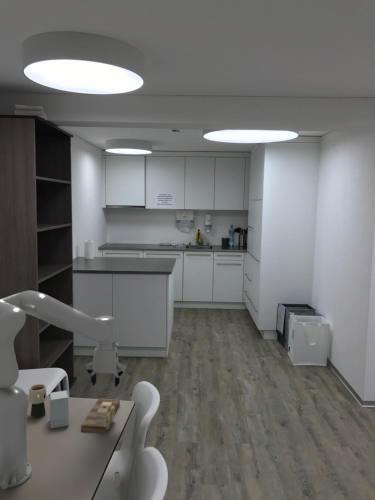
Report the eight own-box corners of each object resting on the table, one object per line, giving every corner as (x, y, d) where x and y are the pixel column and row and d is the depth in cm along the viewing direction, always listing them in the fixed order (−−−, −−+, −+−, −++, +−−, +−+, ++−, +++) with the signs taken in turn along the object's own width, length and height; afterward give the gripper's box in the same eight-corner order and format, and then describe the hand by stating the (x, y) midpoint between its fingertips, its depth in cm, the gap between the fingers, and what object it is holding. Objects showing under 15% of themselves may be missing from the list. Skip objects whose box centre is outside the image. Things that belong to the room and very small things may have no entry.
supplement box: (68, 425, 167) (68, 397, 166) (50, 428, 164) (50, 400, 163) (67, 417, 174) (67, 389, 172) (49, 420, 171) (49, 392, 170)
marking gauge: (108, 429, 162) (108, 412, 162) (96, 428, 163) (96, 411, 162) (114, 417, 171) (114, 402, 170) (102, 417, 172) (103, 401, 171)
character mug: (47, 419, 171) (47, 391, 170) (29, 422, 168) (29, 393, 167) (45, 408, 181) (45, 381, 180) (29, 410, 178) (28, 383, 177)
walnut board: (104, 433, 162) (104, 427, 162) (81, 431, 163) (81, 425, 163) (119, 404, 186) (119, 399, 186) (99, 403, 187) (99, 398, 186)
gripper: (127, 343, 167) (127, 382, 168) (88, 341, 168) (88, 379, 170) (123, 349, 159) (123, 390, 161) (82, 347, 161) (82, 387, 162)
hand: (105, 384), depth 165 cm, fingers open, 9 cm apart
